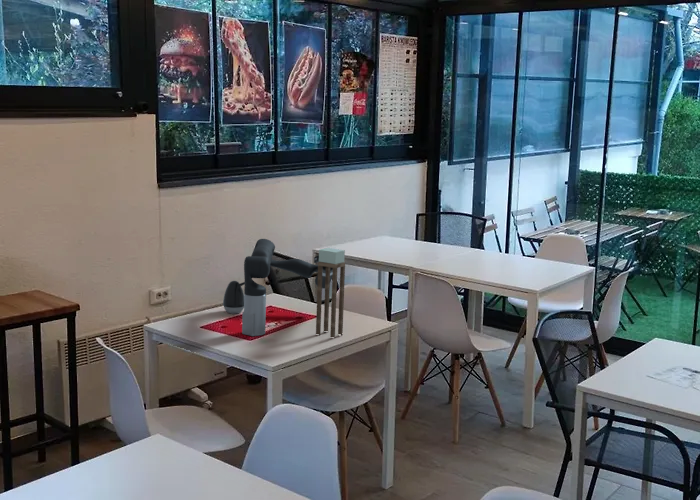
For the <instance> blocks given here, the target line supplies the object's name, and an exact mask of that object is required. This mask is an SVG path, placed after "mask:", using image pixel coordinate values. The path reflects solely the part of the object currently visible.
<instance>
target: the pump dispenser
mask: <svg viewBox="0 0 700 500" xmlns="http://www.w3.org/2000/svg"><path fill="white" fill-rule="evenodd" d="M243 286H245V281H243V282H241V283H240V282H239V281H238V280H231V281H230V282H229V283H228V284H227V287H226V288H225V291H224V295H223V302H222V305H223V309H224V311H226V313H228V314H231V315H235V314H240V313H241V312H242V311H244V291H243V288H242V287H243Z"/></svg>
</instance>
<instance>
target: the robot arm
mask: <svg viewBox="0 0 700 500" xmlns="http://www.w3.org/2000/svg"><path fill="white" fill-rule="evenodd" d="M275 249H276V246H275V243H274V242H273V241H272V240H269V239H268V238H267V239H266V238H260V239H258V240H257V241H256V242H255V245H254V248H253V251H252V254H251V255H247V256H246V257H245V258H244V262H243V274H244V276H243V277H244V282H245V284H244V285H243V286H244V291H243V293H244V309H243V312H242V313H241V316H242V318H241V319H242V320H241V324H242V325H241V333H242V335H247V336H251V337H256V336H257V337H258V336H263V335H265V334H266V324H267V323H266V320H267V319H266V318H267V316H266V314H267V313H266V312H267V311H266V310H267V287H265V286H264V285H262V284H259V283H257V282H256V281H254V280H253V279H266V278H268V276H269V275H270V271H271V267H274V268H277V269H279V270H284V271H287V272H290V273H293V274H297V275H298V276H301V277H303V278H305V279H310V278H311V277H312V276H313V275H314V273H317V274H316V276H315V279H314V284H315V285H316V286H317V283H318V262H319V254H318V255H316V256H314V257H313V263H310V262H308V261H306V260H305V261H304V260H303V259H299V258H290V259H286V260H284V259H283V260H275V259H273V255H274V253H275ZM325 275H326V267H325V266H323V272H322V290H323V289H324V290H325ZM332 275H333V268H331V267H330V283H332Z"/></svg>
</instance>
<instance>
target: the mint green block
mask: <svg viewBox="0 0 700 500" xmlns="http://www.w3.org/2000/svg"><path fill="white" fill-rule="evenodd" d="M345 253H346V251H345V250H344V249H337V248H332V247H327V248H322V249H321V248H320V249H318V255H319V262H325V263H331V264H338V263H343V262H345V256H346V255H345Z"/></svg>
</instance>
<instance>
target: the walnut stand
mask: <svg viewBox="0 0 700 500" xmlns="http://www.w3.org/2000/svg"><path fill="white" fill-rule="evenodd" d="M317 265H318V272H317V274H318V283H317V285H316V287H317V288H316V290H317V291H316V292H317V293H316V316H315V317H316V318H315V323H316V325H315V335H316V334H320V335H321V330H322V328H321V326H322V325H321V323H322V301H323V299H322V298H323V295H322V294H323V288H322V272H323V266H325V267H326V275H325V288H324V305H323V307H324V309H323V310H324V311H323V332H324V331H328V332H329V314H330V335H329V336H330V337H335V338H336V315H337V314H336V313H337V292H338V291H337V288H338V269H340V271H339V293H338V294H339V296H338V298H339V299H338V319H337V320H338V321H337V322H338V323H337V324H338V325H337V335H338V334H342V333H343V330H344V329H343V328H344V327H343V326H344V325H343V324H344V306H345V305H344V304H345V303H344V302H345V300H344V299H345V279H346V278H345V277H346V275H345V274H346V261H344V262H343V263H338V264H331V263H325V262H317ZM330 267H331V268H333V275H332V280H331V282H330ZM330 283H331V284H330ZM330 286H331V303H330ZM330 304H331V305H330ZM330 307H331V309H330ZM330 311H331V312H330ZM342 335H343V334H342ZM330 337H329V338H330Z"/></svg>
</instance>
